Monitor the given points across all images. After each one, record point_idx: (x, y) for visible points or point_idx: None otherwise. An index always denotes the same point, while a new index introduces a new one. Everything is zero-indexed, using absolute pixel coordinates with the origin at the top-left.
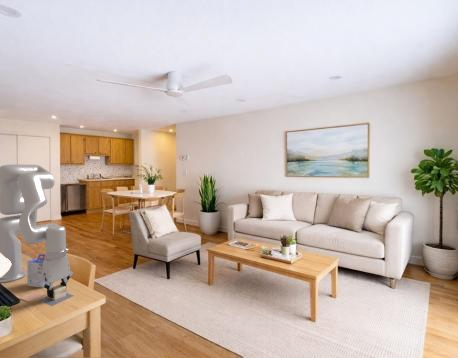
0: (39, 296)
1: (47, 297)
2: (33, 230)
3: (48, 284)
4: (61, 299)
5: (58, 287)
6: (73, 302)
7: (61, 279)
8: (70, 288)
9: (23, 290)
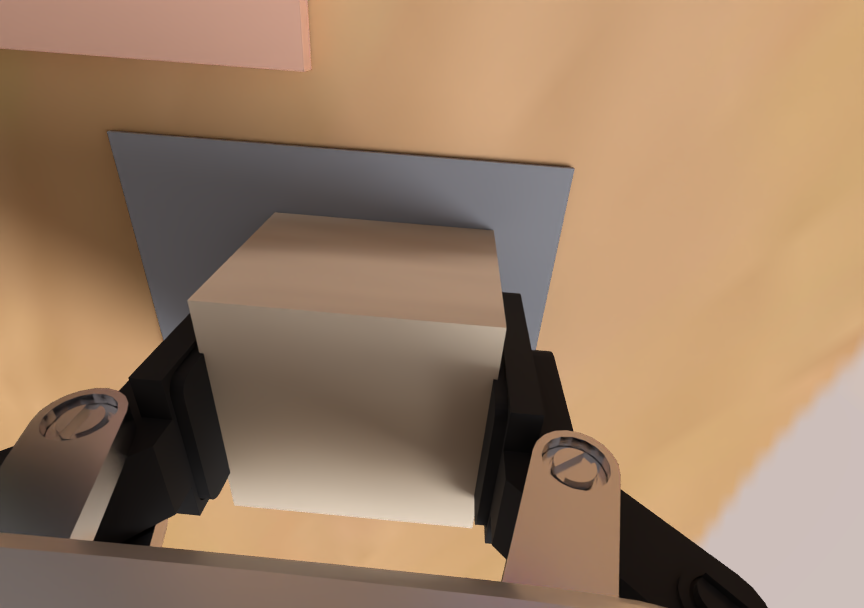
0: (171, 21)
1: (277, 192)
2: None
3: (65, 506)
4: None
5: (376, 444)
6: (382, 559)
7: (516, 551)
8: (733, 248)
9: None
